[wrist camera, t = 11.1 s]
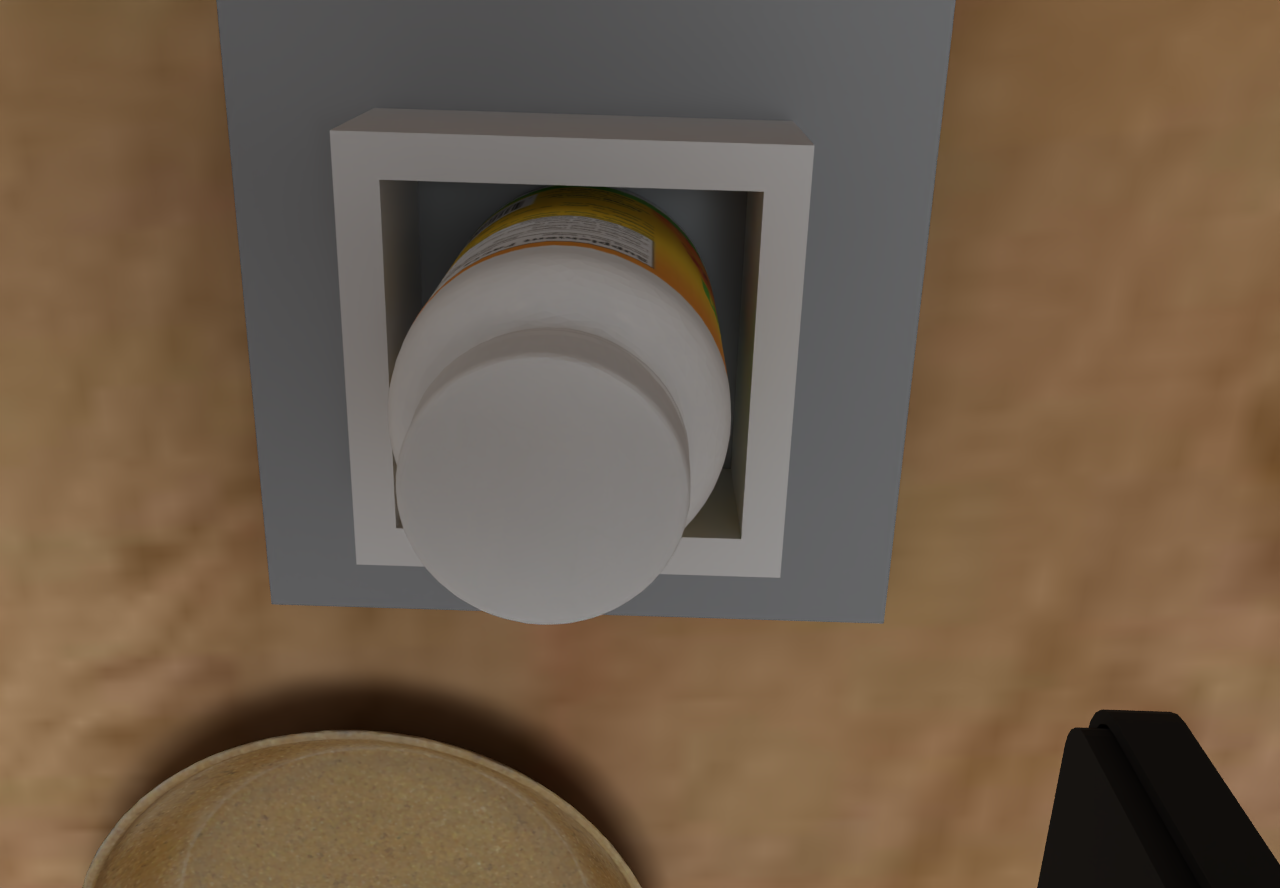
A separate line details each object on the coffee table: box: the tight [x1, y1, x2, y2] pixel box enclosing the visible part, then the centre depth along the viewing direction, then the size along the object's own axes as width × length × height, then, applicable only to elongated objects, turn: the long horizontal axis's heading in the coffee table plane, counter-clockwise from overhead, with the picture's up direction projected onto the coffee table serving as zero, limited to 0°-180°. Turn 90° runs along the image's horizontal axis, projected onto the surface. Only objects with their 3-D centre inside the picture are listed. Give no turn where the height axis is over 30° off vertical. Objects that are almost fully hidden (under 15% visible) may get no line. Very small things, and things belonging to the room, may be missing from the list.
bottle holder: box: [217, 0, 956, 623], centre depth 24 cm, size 14×14×5 cm
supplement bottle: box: [388, 185, 731, 624], centre depth 21 cm, size 5×5×10 cm
